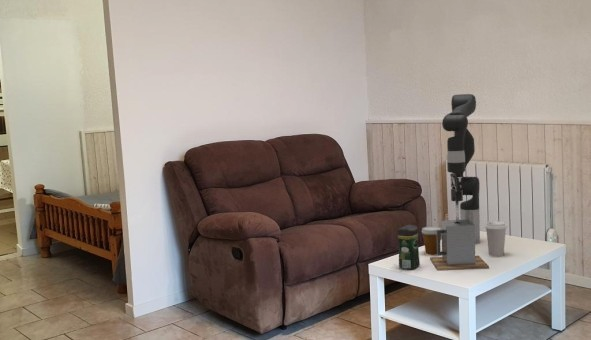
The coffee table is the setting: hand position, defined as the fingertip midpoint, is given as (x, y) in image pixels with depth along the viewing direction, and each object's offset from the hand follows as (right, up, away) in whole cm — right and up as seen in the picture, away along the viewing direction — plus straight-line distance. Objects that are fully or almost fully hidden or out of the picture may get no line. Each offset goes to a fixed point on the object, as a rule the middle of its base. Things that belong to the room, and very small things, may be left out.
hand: (456, 198), depth 269 cm
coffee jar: (-20, -30, +3) cm, 37 cm away
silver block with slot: (0, -28, +3) cm, 28 cm away
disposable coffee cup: (-5, -27, +24) cm, 36 cm away
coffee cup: (+22, -27, +15) cm, 38 cm away
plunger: (+1, -15, +2) cm, 16 cm away
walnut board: (+2, -29, +3) cm, 29 cm away
